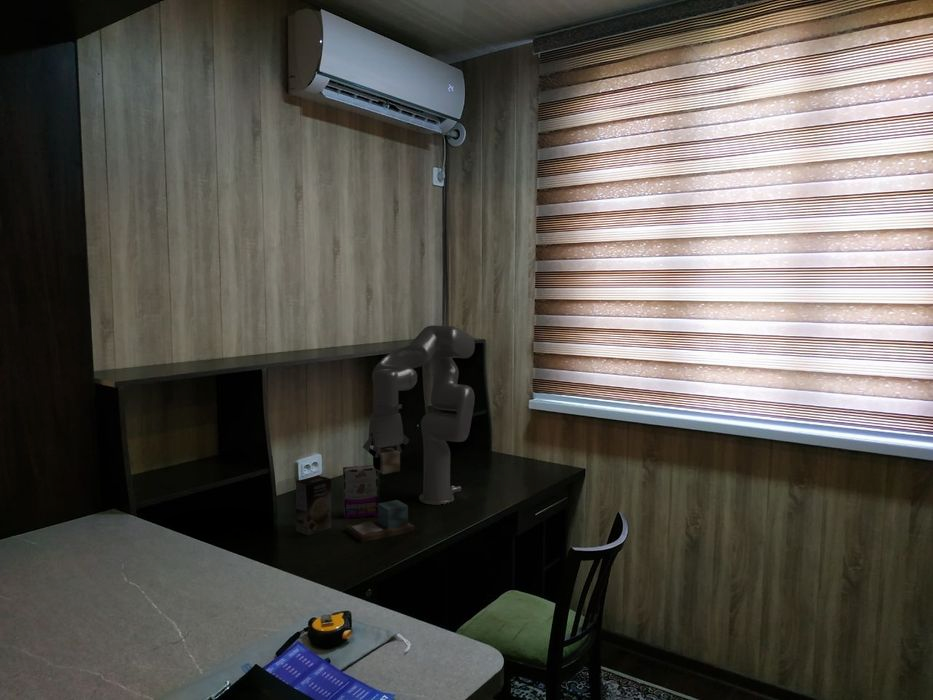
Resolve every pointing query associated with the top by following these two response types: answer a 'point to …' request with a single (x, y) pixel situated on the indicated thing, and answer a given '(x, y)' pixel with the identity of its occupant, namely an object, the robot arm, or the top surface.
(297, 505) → the coffee box
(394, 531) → the base
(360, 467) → the candy bar box
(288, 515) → the top surface
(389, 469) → the maple block
